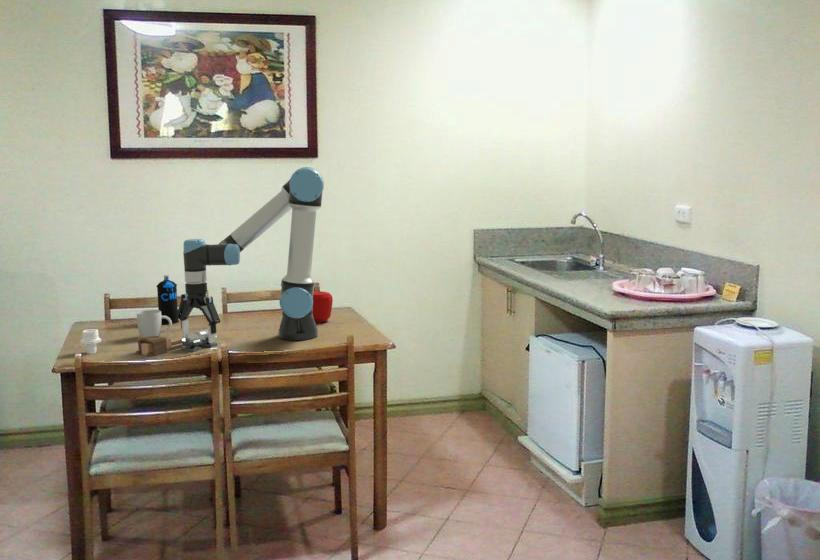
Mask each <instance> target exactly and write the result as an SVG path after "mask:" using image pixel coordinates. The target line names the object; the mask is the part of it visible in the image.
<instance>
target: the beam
mask: <svg viewBox="0 0 820 560" xmlns="http://www.w3.org/2000/svg"><path fill="white" fill-rule="evenodd" d="M166 338H167V337H164V336H154V335H146V336H142V337H141V336H139V337H137V348H138V350H136V351H135V354H136V355H140V354H141V355H142V349H141V344H142V343H146V342H153V352H150V353H147V355H146V357H152V356H158V355H163V354H167V353H168V352H170V351H171V352H172V351H174V350H178V349H180V347H182V346H184V345H183V344H182V342H181V341H180V340H181V339H178V340H174V341H171V347H169V348H167V343H166Z"/></svg>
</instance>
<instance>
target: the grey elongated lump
mask: <svg viewBox="0 0 820 560" xmlns="http://www.w3.org/2000/svg"><path fill="white" fill-rule="evenodd" d="M208 338H209V337H208V328H205V329H203V330H199V331H194V332H189V334H187V335H186V336H185V341H186V343H187V344H188V345H190V344H191V342H192V341H195V340H200V342H203V341H206V340H207V339H208Z"/></svg>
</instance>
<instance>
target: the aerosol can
mask: <svg viewBox="0 0 820 560" xmlns="http://www.w3.org/2000/svg"><path fill="white" fill-rule="evenodd" d="M177 286H178V284H177V283H175V282H174V281H172V280H170V277H169V274H165V275H163V280H162V281H160V282H159V283H158V284H157V285H156V288H157V289H156V290H157V292H156V293H157V306H158V307H157V308H158V309H157V310H160V311H161V316H167V317H169V318H170V319H171V321H172V325H173V324H174V325H175V324H178V323H179V322H180V319H179V318H176V315H177V312H178V308H179V305H178V292H177V291H178V290H177V288H178V287H177ZM162 325H169V321H168V320H167V319H164V318H162Z"/></svg>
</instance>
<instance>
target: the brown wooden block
mask: <svg viewBox="0 0 820 560" xmlns="http://www.w3.org/2000/svg"><path fill="white" fill-rule="evenodd" d="M165 338H166V343H167V348H169V347H172V346H171V342H172V338H168V337H165ZM141 349H142V353H141V355H145V356H147V353H150V352H153V342H146V343H142V344H141Z"/></svg>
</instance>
